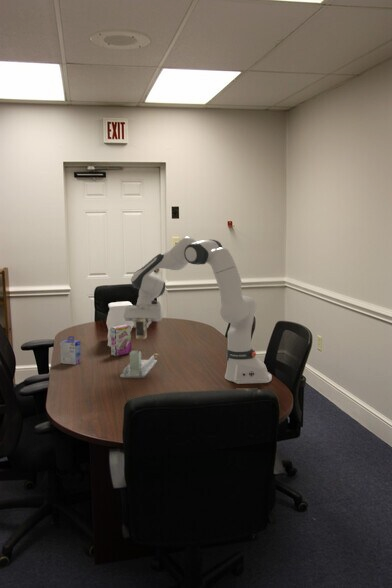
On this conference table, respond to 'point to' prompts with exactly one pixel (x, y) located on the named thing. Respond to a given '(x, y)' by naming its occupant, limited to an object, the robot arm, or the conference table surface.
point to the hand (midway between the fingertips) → (140, 327)
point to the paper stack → (117, 317)
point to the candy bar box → (120, 340)
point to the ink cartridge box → (70, 351)
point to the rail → (136, 375)
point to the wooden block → (141, 328)
